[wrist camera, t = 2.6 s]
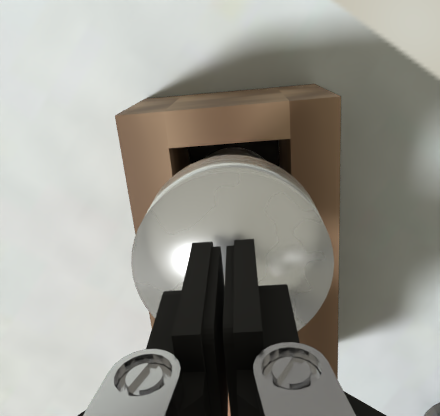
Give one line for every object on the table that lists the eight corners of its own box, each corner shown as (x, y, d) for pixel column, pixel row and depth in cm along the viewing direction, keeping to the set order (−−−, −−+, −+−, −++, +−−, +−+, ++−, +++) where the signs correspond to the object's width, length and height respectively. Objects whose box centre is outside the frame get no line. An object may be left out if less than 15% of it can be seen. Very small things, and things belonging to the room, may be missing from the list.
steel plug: (297, 119, 18) (335, 164, 11) (300, 244, 20) (333, 347, 13) (161, 130, 19) (115, 180, 12) (177, 251, 21) (147, 355, 14)
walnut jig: (314, 83, 22) (341, 96, 16) (317, 348, 28) (336, 424, 22) (145, 98, 23) (115, 115, 17) (182, 355, 29) (169, 430, 23)
